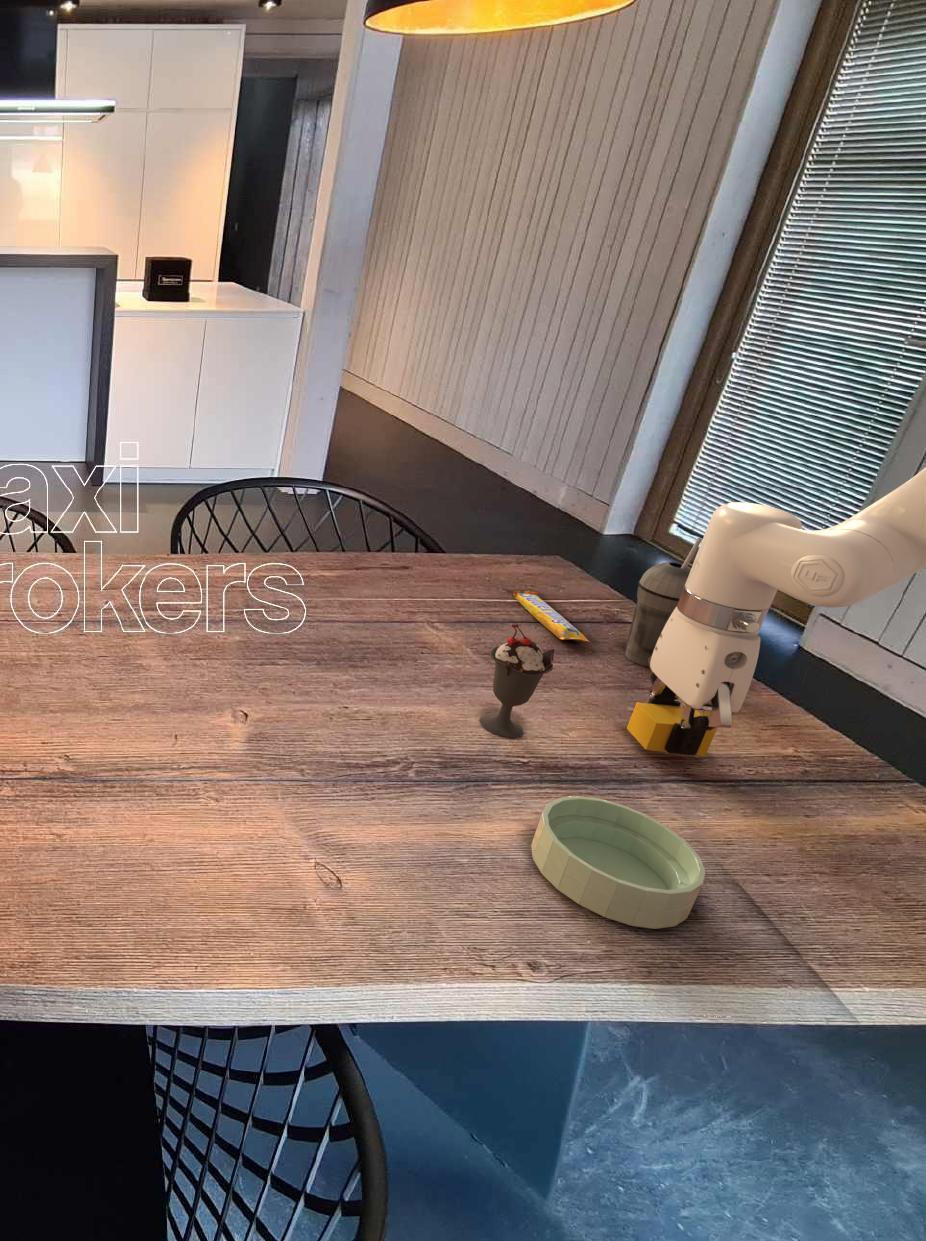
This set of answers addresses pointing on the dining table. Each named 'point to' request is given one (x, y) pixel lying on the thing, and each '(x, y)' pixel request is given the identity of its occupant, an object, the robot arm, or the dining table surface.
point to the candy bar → (548, 616)
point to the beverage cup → (656, 605)
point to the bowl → (617, 862)
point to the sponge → (660, 726)
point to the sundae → (515, 681)
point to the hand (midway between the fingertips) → (667, 738)
